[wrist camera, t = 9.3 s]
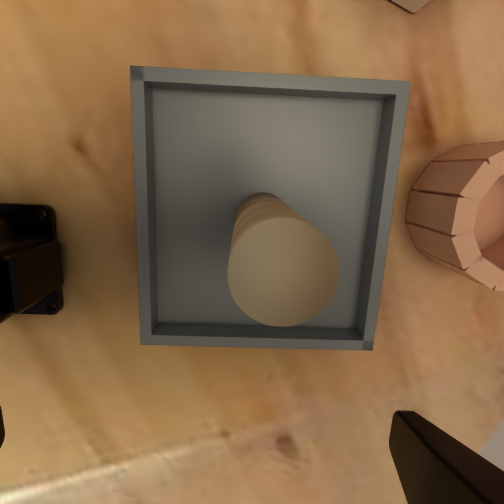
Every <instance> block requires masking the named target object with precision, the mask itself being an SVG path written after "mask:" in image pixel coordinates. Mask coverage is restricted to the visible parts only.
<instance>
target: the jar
mask: <svg viewBox="0 0 504 504" xmlns="http://www.w3.org/2000/svg"><path fill="white" fill-rule="evenodd" d="M391 1H393V2H394V3H396V4H398V5H400V6H401V7H403V8H405V9H407V10H408V11H410V12H412V13H415V12H418V11H419V10H420V9H422V8H423V7H424V6H426V5H427V4H429V3H430V2H431V1H433V0H391Z"/></svg>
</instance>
